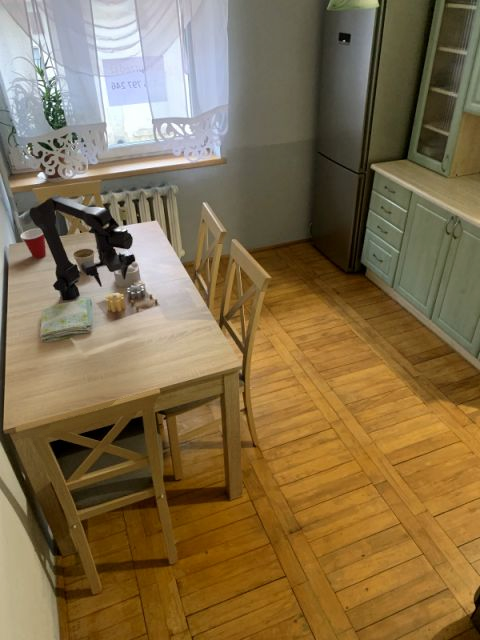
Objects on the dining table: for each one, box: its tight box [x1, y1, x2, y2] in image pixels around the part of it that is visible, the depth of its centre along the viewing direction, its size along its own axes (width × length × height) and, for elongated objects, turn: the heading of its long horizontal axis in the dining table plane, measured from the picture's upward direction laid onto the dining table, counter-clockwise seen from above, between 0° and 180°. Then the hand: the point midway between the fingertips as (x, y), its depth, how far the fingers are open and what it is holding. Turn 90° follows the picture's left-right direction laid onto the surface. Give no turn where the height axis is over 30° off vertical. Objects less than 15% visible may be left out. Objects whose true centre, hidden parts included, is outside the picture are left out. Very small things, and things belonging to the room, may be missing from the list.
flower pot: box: [71, 247, 96, 274], centre depth 206 cm, size 9×9×9 cm
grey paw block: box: [113, 261, 142, 288], centre depth 197 cm, size 10×13×9 cm
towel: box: [39, 297, 93, 343], centre depth 172 cm, size 18×21×5 cm
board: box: [95, 289, 160, 323], centre depth 182 cm, size 20×16×3 cm
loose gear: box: [105, 292, 126, 312], centre depth 178 cm, size 7×7×6 cm
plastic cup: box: [19, 227, 47, 260], centre depth 218 cm, size 11×11×12 cm
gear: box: [126, 285, 146, 299], centre depth 186 cm, size 7×7×4 cm
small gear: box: [134, 280, 146, 289], centre depth 192 cm, size 4×4×3 cm
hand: (112, 282), depth 174 cm, fingers open, 9 cm apart
